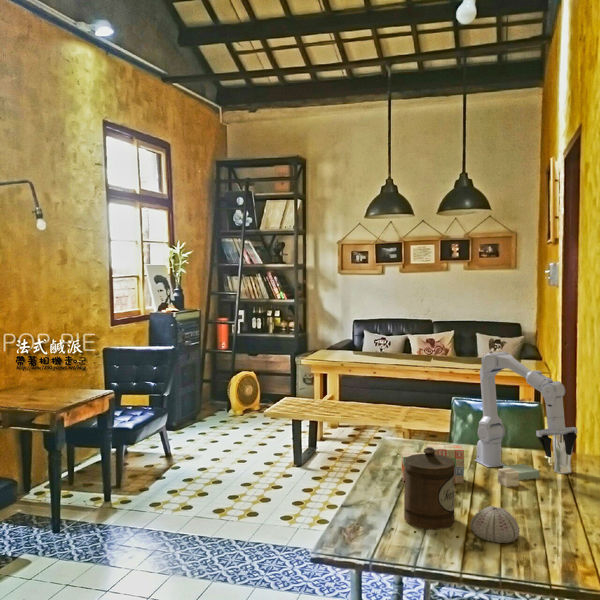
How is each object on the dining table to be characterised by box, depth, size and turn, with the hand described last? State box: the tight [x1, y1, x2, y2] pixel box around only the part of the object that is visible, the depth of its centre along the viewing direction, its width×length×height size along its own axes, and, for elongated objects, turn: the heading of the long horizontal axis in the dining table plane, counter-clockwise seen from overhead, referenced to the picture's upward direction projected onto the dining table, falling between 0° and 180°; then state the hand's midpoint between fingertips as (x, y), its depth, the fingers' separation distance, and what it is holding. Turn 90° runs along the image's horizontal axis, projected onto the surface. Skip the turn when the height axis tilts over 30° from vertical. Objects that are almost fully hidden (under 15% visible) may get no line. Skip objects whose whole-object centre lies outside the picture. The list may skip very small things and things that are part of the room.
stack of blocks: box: [401, 444, 465, 484], centre depth 221 cm, size 21×6×12 cm, turn 85°
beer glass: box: [552, 434, 574, 475], centre depth 230 cm, size 7×7×15 cm
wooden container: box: [403, 446, 456, 530], centre depth 184 cm, size 15×15×22 cm
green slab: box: [502, 463, 540, 481], centre depth 226 cm, size 9×9×3 cm
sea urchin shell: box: [469, 505, 521, 544], centre depth 173 cm, size 13×14×8 cm
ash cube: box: [497, 467, 520, 488], centre depth 216 cm, size 5×5×5 cm
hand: (558, 455), depth 216 cm, fingers open, 7 cm apart
